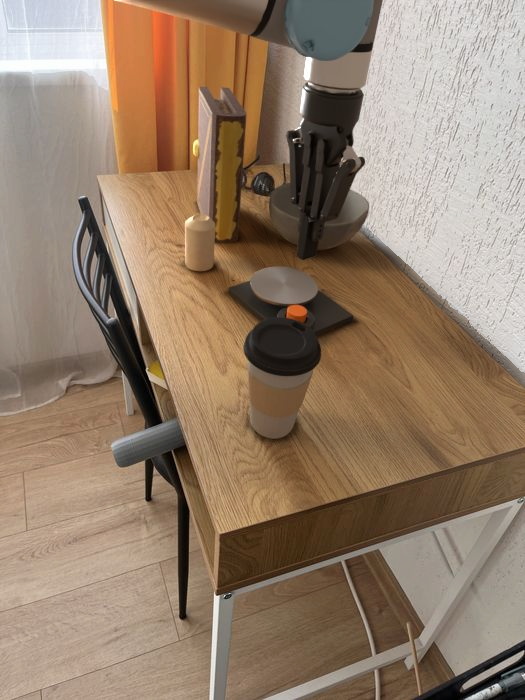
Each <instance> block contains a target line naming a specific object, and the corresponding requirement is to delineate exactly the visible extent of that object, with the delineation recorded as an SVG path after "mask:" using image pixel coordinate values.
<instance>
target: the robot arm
mask: <svg viewBox="0 0 525 700" xmlns="http://www.w3.org/2000/svg"><path fill="white" fill-rule="evenodd" d="M115 1H116V2H119V3H123V4H127V5H131V6H135V7H139V8H144V9H146V10H150V11H153V12H157V13H162V14H166V15H170V16H172V17H177V18H180V19H185V20H188V21H191V22H196V23H199V24H203V25H207V26H211V27H215V28H217V29H222V30H226V31H230V32H232V33H233V32H234V33H238V34H241V35H244V36H249V37H251V38H253V39H257V40H260V41H264V42H268V43H272V44H275V45H279V46H282V47H287V48H290V49H293V50H295V51H296V52H297V54H299V55H300V56H302V57H305V58H306V59H305V66H304V74H303V78H304V79H305V81H306V82H305V83H304V84H303V86H302V89H301V98H300V106H299V114H300V116H301V118H302V120H301V121H300V125H299V127H298V128H296V129H290V130H287V131H286V133H285V138H286V142H287V146H288V151H289V152H288V153H289V154H288V155H289V156H288V157H289V183H290V194H291V203H292V204H293V205H295V204H296V205H297V206H298V211H299V213H300V216H299V223H298V232H299V240H298V245H297V248H296V254H295V256H296V258H298V259H300V260H301V261H303V262H304V261H306V260H309V259H312V258H314V257H317V252H318V250H317V247H318V242H319V240H321V239H322V236H323V231H324V225H325V222H326V221H330V220H333V219H336V218H338V216H339V214H340V211H341V209H342V207H343V204H344V202H345V200H346V197H347V195H348V192H349V190H351V188H352V185H353V183H354V181H355V178H356V175H357V174H358V173H359V172H360V171H361V169H363V168H364V166H365V164H366V159H365V157H364V156H358V155H357V153H356V151H355V149H354V148H353V146H354V143H355V141H354V128H355V126H356V125H357V123H358V122H359V120H360V117H361V111H362V105H363V101H364V96H365V94H364V93H363V90H362V88H364V87H365V86H366V84H367V79H368V75H369V69H370V66H371V65H370V64H371V60H372V55H373V48H374V43H375V41H376V40H375V39H376V35H377V30H378V25H379V21H380V16H381V12H382V11H381V10H382V6H383V1H384V0H115ZM298 193H300V194H299V195H298Z"/></svg>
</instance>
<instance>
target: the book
mask: <svg viewBox="0 0 525 700" xmlns="http://www.w3.org/2000/svg"><path fill="white" fill-rule="evenodd" d="M197 121H198V123H197V124H198V127H197V129H198V130H197V132H198V134H197V139H196V140H194V142H193V145H192V153H193V155H194V156H195V158H197V187H196V188H197V192H196V193H197V195H196V196H197V197H196V198H197V199H196V200H197V201H196V205H197V206H198V209H199V210H198V211H199V213H203V214H204V215H206V216H207V217H209V218H210V219H212V220H213V221H214V223H215V243H232V242H236V241H237V240H238V239H239V230H240V229H239V228H240V216H241V215H240V213H241V197H242V187H243V186H242V185H243V171H244V156H245V153H244V152H245V144H246V143H245V142H246V127H247V112H246V111H245V108H243V106H242V105H241V103H240V102H239V100H238V99H237V97H236V96H235V94H234V92H233V91H232V89H231V87H220V97H219V98H215V97H214V96H213V94H212V93H211V91H210V89H209V87H208V86H198V119H197Z"/></svg>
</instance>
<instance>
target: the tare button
mask: <svg viewBox="0 0 525 700" xmlns="http://www.w3.org/2000/svg"><path fill="white" fill-rule="evenodd" d="M306 315H307V310H306V308H304V307H303V306H300V305H291V306H289V307H288V309H287V316H286V318H290V319H294V320H297V321H300V322H302V323H304V322H305V321H306Z"/></svg>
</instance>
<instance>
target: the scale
mask: <svg viewBox="0 0 525 700" xmlns="http://www.w3.org/2000/svg"><path fill="white" fill-rule="evenodd" d="M227 294H228V295H229V296H231V297H232V298H233V299H234V300H236V302H237V303H239V305H241V306H242V307H244V308H245V309H246V310H247V311H248V312H249V313H251V314H252V315H253V316H254V317H256V318H257V319H258V320H259V322H261V321H263V320H266V319H269V318H277V317H282V318H286V316H287V309H288V307H285V306H278V305H274V304H270V303H267V302H265V301H263V300H261V299H260V298H258V297H257V296H256V295H255V294H254V293H253V292H252V290H251V287H250V280H247V281H244V282H241V283H238V284H235V285H232V286H229V287H228V288H227ZM300 306H303V307H304V308H306V310H307V315H306V321H305V322H304V324H306V325H307V326H309V327H310V328H311V329H312V330H313V331H314V333H315V335H316V337H318V336H320V335H323V334H325V333H327V332H330V331H331V330H335V329H336V328H338V327H341V326H343V325H345V324H348V323H350V322H352V321H353V319H354V314H353V313H351V312H350V311H348V310H347V309H346V308H344V307H343V306H341V304H338V303H337V302H336V301H334V300H333V299H332V298H330V297H329V296H328V295H327V294H325V293H323V292H322V291H321V290H319V289H318V293H317V296H316V297H315V298H314V299H313V300H312V301H311V302H309V303H307V304H304V305H300Z"/></svg>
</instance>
